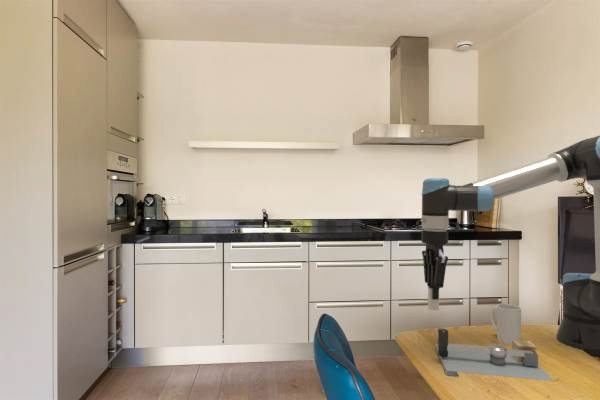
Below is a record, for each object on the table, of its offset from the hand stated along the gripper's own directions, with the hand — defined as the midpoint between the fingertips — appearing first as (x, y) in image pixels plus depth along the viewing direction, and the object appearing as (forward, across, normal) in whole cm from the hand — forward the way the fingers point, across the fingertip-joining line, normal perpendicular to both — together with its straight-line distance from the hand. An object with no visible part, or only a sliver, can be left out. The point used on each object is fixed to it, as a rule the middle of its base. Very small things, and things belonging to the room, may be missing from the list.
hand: (433, 309), depth 109 cm
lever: (+11, +9, +11) cm, 18 cm away
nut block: (+12, +8, +23) cm, 27 cm away
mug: (+13, -8, +27) cm, 31 cm away
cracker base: (+13, +8, +12) cm, 20 cm away
